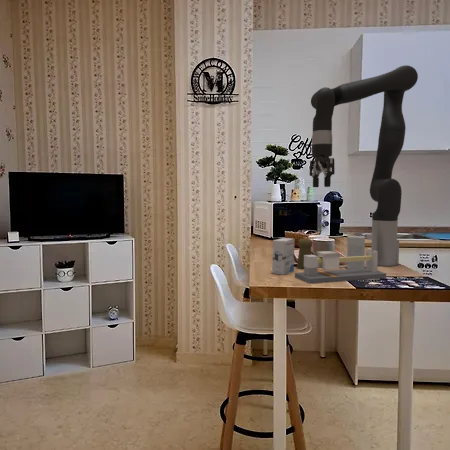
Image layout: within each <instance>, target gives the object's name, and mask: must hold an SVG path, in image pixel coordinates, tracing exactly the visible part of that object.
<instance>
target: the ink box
mask: <svg viewBox="0 0 450 450" xmlns="http://www.w3.org/2000/svg"><path fill="white" fill-rule="evenodd" d="M271 267H272V269H271V272H272V274H275V275H283V276H284V275H287V274H289V273H292V272H294V271H295V270H294V269H295V238H290V237H287V238H286V237H281V238H278V239H277V238H276V239H273V240H272V266H271Z"/></svg>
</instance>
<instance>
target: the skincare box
mask: <svg viewBox="0 0 450 450" xmlns="http://www.w3.org/2000/svg"><path fill="white" fill-rule="evenodd" d="M346 238H347V251H346V252H347V253H346V254H347V255H346V257H353V256H366V255H365V253H366V252H365V248H366V245H365V244H366V243H365V241H366V237H365V236H361V235H360V236H359V235H348V236H347V237H346ZM346 264H347V265H346V266H347V267H346V270H347V269H362V268H365V261H352V262H346Z"/></svg>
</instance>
